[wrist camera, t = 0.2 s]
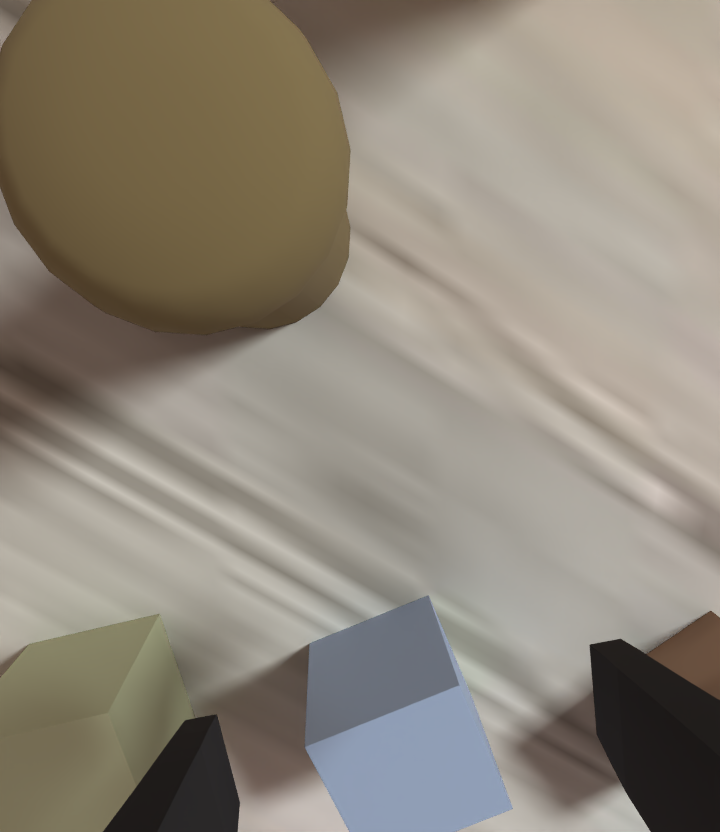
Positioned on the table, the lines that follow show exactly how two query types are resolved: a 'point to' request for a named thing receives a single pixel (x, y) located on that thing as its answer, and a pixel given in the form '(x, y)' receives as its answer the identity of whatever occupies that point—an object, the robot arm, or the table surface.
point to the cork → (176, 160)
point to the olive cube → (85, 724)
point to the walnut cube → (694, 653)
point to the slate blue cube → (399, 727)
